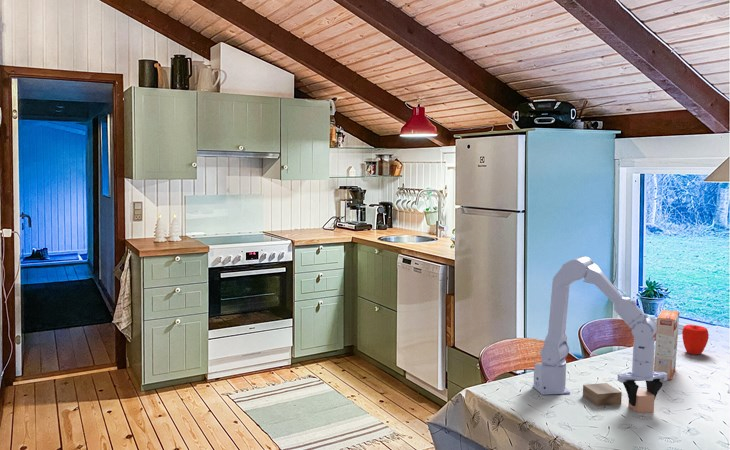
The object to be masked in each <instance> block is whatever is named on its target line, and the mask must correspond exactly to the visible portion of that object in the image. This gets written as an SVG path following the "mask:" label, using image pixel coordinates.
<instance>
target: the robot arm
mask: <svg viewBox="0 0 730 450" xmlns="http://www.w3.org/2000/svg"><path fill="white" fill-rule="evenodd" d="M582 279H583V281H582V282H583V283H587V284H592V285H594V286H595V287H597V288H598V289H599V291H600V292H601V293H603V294H604V295H605V296H606V297H607V298H608V300H610V302H611V303H613V308H614V309H613V310H614V312H615V313H616V314H617V315H618V316H619V317H620V318H621V320H622V321H623V322H624V323H625V324H626V325H627V326H628V327H629V328H630V329H631V334H632V336H633V342H632V343H633V345H632V366H631V371H628V372H623V373H617V381H618V382H619V383H622V384H623V386H624V388H625V391H626V393H627V398H628V403H629V404H631V405H632V406H635V404H636V395H637V390H639V387H640V385H638V384H637V382H641V381H644V382H645V385H646V386H645V387H646V390H647V391H648V392H650V393H652V394H653V395H655V397H654V401H655V400H656V397H657V395H658V393H659V391H660V390H661V388H662V387H663V385H664V384H663V383H664V382H663V381H668V380H667V374H666V373H664V372H654V359H655V343H656V336H655V335H656V331H657V322H656V321H655V319H653V318H651V317H650V316H649V315H648V314H647V313H644V312H643V311H642V309H640V307H638V305H637V303H638V302H637V301H636V300H635V299H632V298H630V297H626V296H623V295H622V294H621V292H620V291H619V290H618V289H617V288H616V287H615V286H614V284H613V283H612V282H611V280H610V279H609V278H608V277H607V275H606V274H605V273H604V272H603V271H602V270H601V268H600V266H599V265H597V264H596V263H594V261H593V260H592V258H590V257H588V256H585V255H580V256H578V257H576V258H574V259H571V260H568V261H567V262H565V263H563V264H562V265H561V268H559V270H558V271H557V273H556V274H555V275H554V276H553V278H552V285H551V295H550V307H549V319H548V332H547V333H546V334H547V335H546V336H545V339H544V341H543V342H544V343H543V347H542V348H541V350H540V351H539V354H540V358H541V360H542V361H541V362H539V363H535V364H534V368H533V384H532V388H534V389H535V390H536V391H538V392H539V394H541V395H543V396H544V395H563V394H565V395H566V394H571V393H572V392H571V391H570V389H568V388H566V383H567V382H566V380H567V375H566V374H567V360H566V357H567V356H568V354H569V352H570V347H569V345H568V336H567V334H566V329H567V318H568V307H569V306H568V304H569V296H570V286H571V285H572V284H573V283H575V282H576V281H580V280H582Z"/></svg>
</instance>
